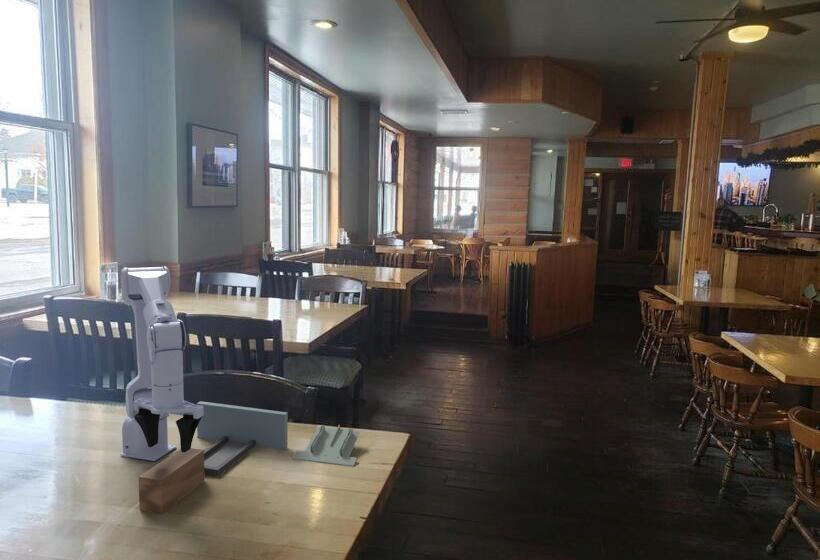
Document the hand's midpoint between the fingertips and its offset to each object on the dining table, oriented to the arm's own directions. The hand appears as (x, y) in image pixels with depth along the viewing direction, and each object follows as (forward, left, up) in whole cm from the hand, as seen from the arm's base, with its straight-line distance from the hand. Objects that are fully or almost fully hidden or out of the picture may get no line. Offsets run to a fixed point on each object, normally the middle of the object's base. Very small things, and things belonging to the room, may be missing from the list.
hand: (169, 447), depth 115 cm
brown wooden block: (0, +1, -11) cm, 11 cm away
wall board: (0, +19, -10) cm, 22 cm away
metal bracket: (+23, +30, -11) cm, 39 cm away
